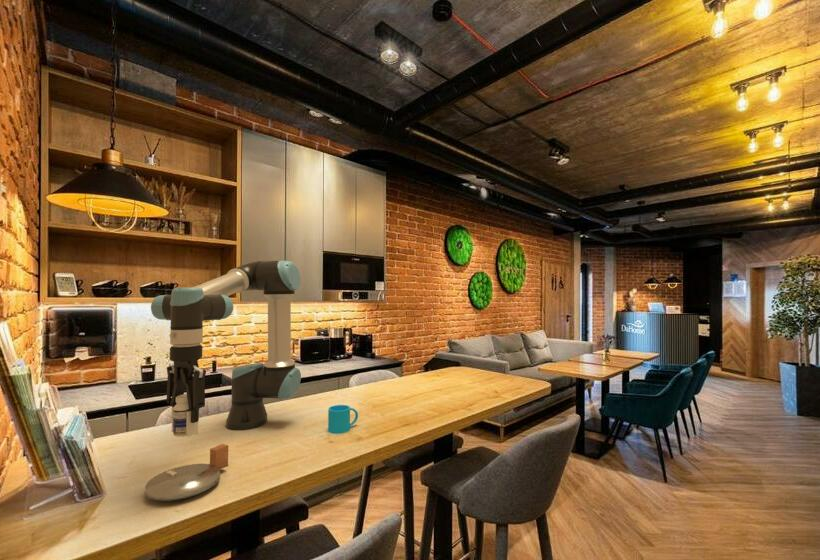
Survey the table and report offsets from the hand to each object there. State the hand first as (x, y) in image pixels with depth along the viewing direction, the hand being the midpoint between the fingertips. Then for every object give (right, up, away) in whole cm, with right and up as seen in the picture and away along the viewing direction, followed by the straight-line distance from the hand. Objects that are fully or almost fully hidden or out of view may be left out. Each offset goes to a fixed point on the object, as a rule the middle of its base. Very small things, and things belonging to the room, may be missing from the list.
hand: (184, 432), depth 99 cm
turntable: (+1, -13, +1) cm, 13 cm away
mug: (+35, -17, +43) cm, 58 cm away
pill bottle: (0, -1, 0) cm, 1 cm away
